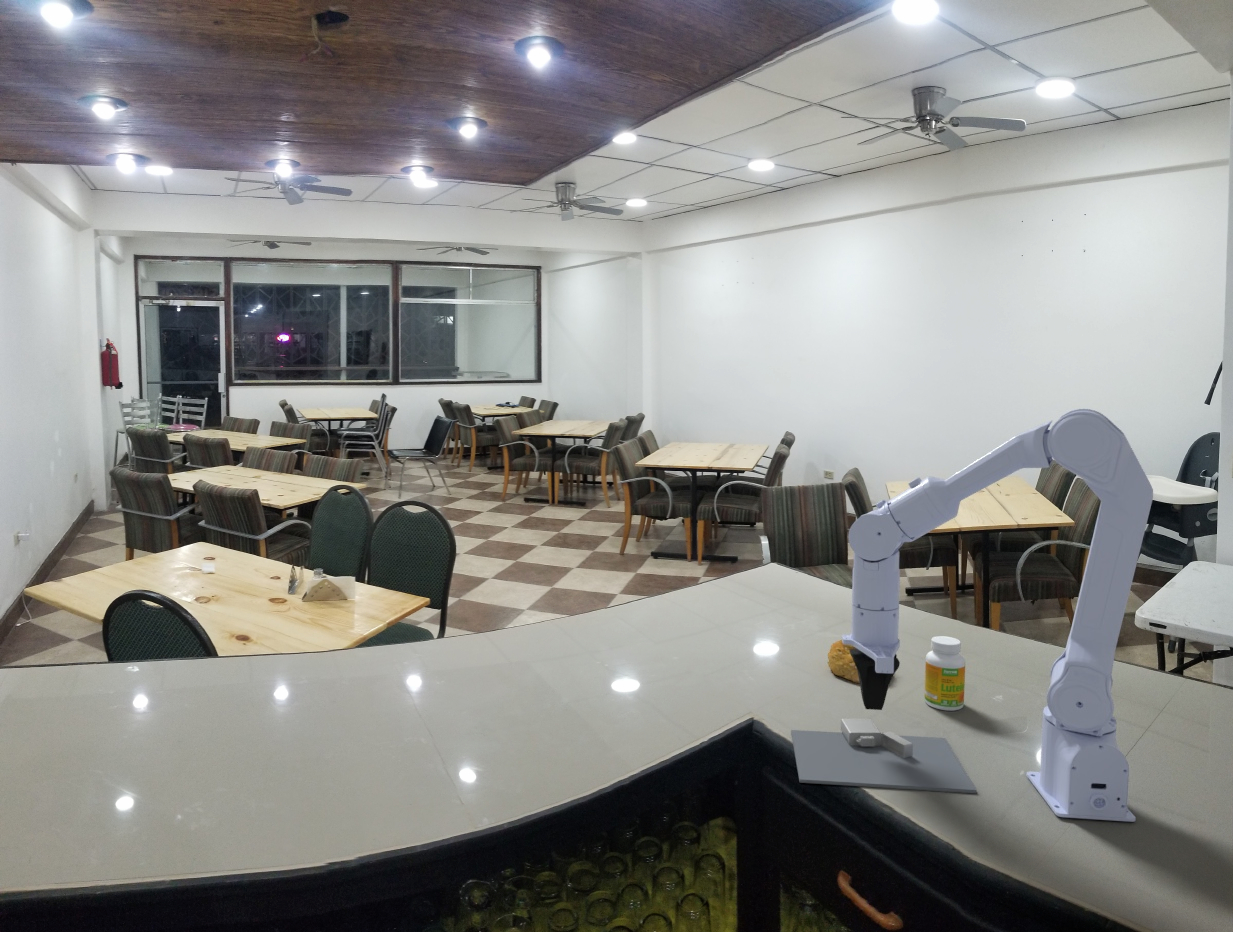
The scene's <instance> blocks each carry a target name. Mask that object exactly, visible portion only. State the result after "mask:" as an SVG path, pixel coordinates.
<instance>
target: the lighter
mask: <svg viewBox="0 0 1233 932" xmlns="http://www.w3.org/2000/svg"><path fill="white" fill-rule="evenodd" d="M840 731H841V733H843V734H844V736H845V738H846V740H847V741H848V743H849V744H850V745H861V746H875V745H882V746H883V747H885V748H886V749H888V750H890V751H892V752H893V753H895V754H897V755H899V756H900V757H902V758H907V757H911V756H913V744H912V743H911V742H909V741H907V740H905V739H903V738H902V737H900V736H901V735H898V734H896V733H894V732H893V731H886V732H882V733H881V731H880V729H878V727H877V726H876V724H875V723H874V721H873V719H871V718H841V719H840Z"/></svg>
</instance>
